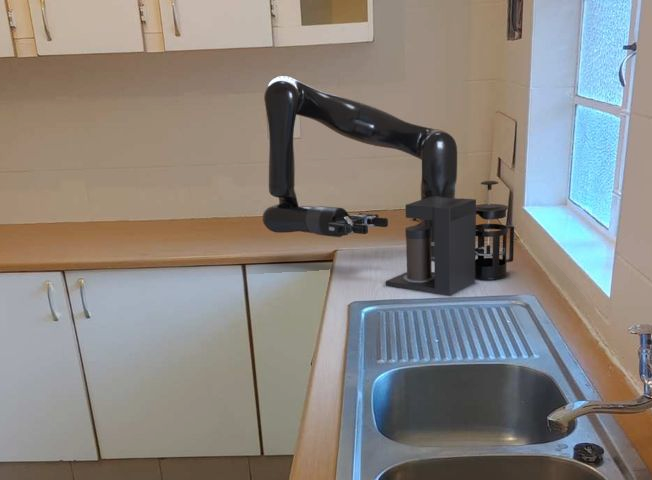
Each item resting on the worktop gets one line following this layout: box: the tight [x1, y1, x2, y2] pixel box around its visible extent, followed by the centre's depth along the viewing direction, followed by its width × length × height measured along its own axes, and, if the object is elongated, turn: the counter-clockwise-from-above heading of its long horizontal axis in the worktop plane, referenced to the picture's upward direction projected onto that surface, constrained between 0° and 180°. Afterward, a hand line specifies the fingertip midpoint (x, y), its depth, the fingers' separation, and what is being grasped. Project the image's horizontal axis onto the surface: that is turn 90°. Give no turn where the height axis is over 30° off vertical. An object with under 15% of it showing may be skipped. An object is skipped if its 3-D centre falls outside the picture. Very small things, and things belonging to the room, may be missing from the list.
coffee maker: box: [385, 197, 477, 297], centre depth 179 cm, size 18×12×20 cm, turn 52°
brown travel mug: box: [405, 225, 433, 280], centre depth 182 cm, size 6×6×12 cm
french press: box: [475, 180, 515, 281], centre depth 183 cm, size 12×9×23 cm
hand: (377, 226), depth 187 cm, fingers open, 8 cm apart
